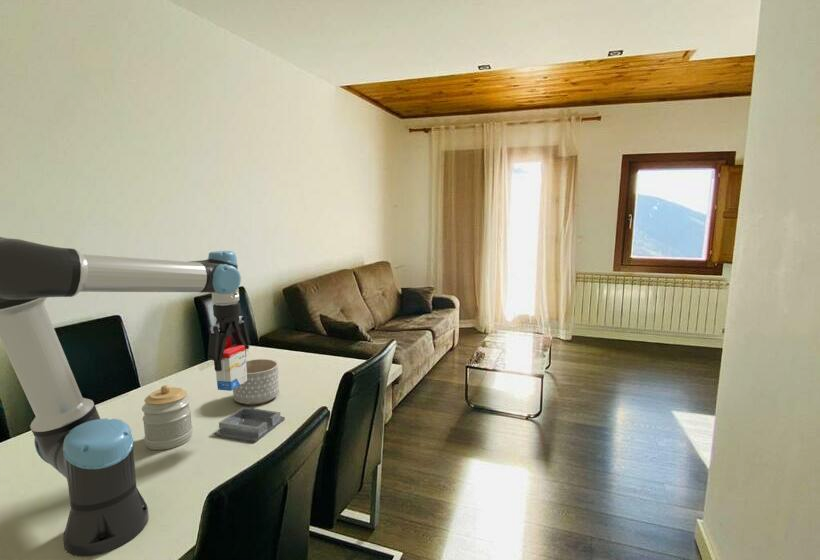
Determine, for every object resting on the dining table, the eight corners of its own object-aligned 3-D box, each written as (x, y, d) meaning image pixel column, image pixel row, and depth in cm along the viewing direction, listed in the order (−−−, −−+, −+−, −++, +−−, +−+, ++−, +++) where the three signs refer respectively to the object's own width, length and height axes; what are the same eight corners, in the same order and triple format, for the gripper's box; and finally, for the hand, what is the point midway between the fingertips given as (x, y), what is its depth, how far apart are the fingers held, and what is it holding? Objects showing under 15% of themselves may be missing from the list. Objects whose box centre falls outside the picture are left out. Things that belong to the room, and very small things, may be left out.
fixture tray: (255, 442, 130) (254, 431, 130) (214, 435, 134) (213, 425, 134) (284, 419, 145) (284, 409, 145) (247, 414, 150) (246, 404, 149)
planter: (224, 404, 158) (222, 371, 156) (250, 387, 173) (249, 357, 172) (263, 409, 154) (262, 375, 152) (287, 391, 170) (285, 360, 168)
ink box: (231, 391, 127) (227, 344, 125) (217, 390, 128) (212, 343, 126) (248, 380, 135) (244, 335, 133) (234, 379, 136) (230, 335, 134)
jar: (201, 436, 134) (198, 382, 132) (160, 455, 123) (155, 397, 121) (177, 426, 141) (173, 374, 138) (136, 443, 130) (131, 388, 127)
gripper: (210, 311, 117) (217, 389, 120) (259, 296, 137) (263, 364, 140) (188, 309, 119) (195, 386, 122) (239, 295, 139) (244, 361, 142)
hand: (232, 374), depth 131 cm, fingers closed on ink box, 9 cm apart
